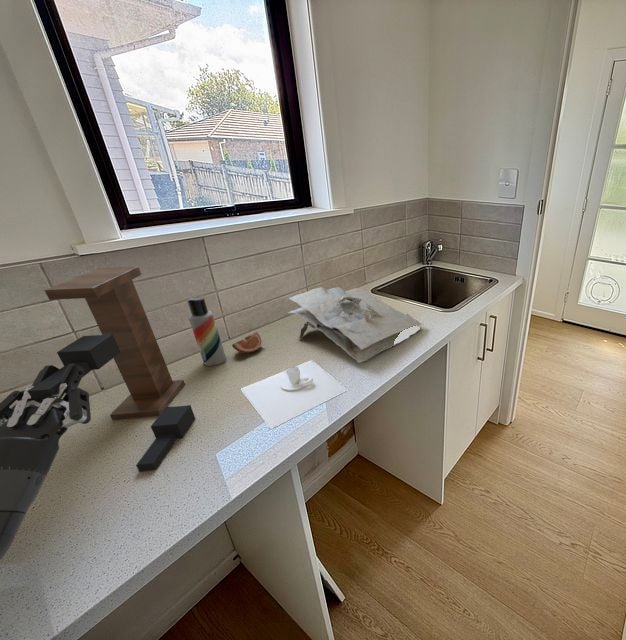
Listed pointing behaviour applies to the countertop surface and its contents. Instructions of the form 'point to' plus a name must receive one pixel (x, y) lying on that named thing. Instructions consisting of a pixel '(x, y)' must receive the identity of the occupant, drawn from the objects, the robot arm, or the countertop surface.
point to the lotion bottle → (206, 332)
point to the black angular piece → (166, 435)
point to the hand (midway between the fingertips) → (64, 366)
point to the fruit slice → (248, 344)
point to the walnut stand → (125, 337)
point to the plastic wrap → (352, 319)
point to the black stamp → (78, 361)
